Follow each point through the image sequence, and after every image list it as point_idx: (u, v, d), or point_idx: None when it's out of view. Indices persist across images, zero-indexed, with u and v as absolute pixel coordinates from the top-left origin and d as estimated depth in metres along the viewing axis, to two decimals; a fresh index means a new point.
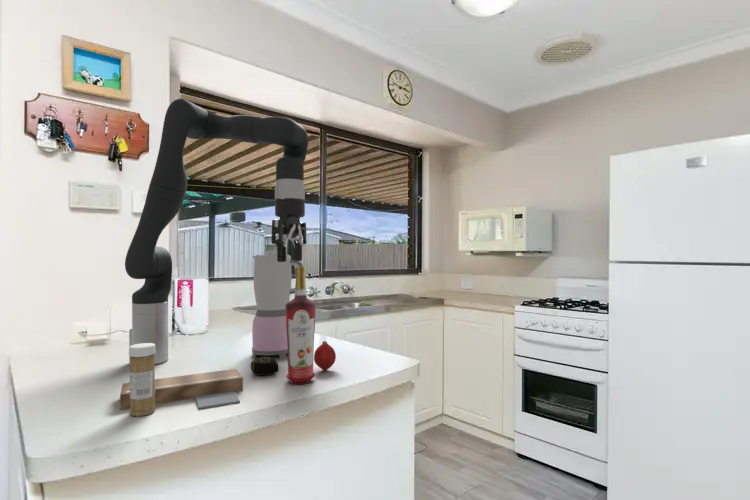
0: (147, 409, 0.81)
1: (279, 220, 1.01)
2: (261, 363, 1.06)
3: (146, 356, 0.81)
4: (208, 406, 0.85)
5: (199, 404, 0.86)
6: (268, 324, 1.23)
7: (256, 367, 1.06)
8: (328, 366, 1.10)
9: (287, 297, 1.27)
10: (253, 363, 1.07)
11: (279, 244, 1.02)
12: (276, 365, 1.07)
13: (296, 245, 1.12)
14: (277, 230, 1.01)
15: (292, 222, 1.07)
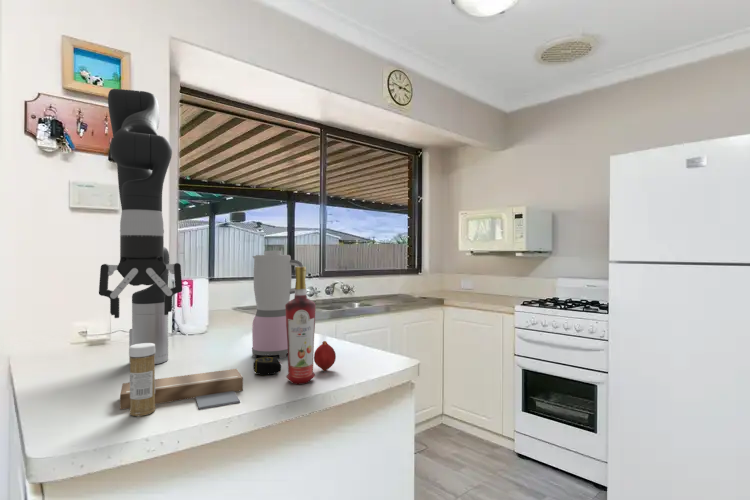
0: (147, 409, 0.81)
1: None
2: (264, 363, 1.06)
3: (146, 356, 0.81)
4: (208, 406, 0.85)
5: (199, 404, 0.86)
6: (268, 324, 1.23)
7: (258, 367, 1.06)
8: (328, 366, 1.10)
9: (287, 297, 1.27)
10: (256, 363, 1.07)
11: None
12: (279, 365, 1.07)
13: (117, 296, 0.81)
14: None
15: None
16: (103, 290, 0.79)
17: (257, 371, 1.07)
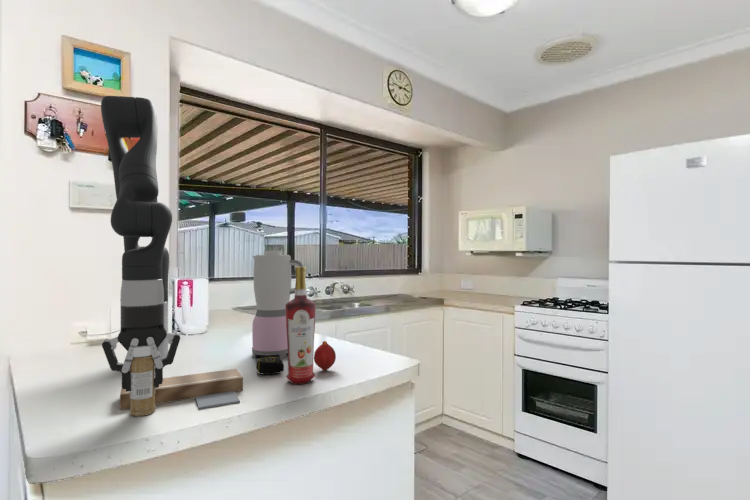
0: (147, 409, 0.81)
1: None
2: (267, 362, 1.07)
3: (146, 356, 0.81)
4: (208, 406, 0.85)
5: (199, 404, 0.86)
6: (268, 324, 1.23)
7: (261, 367, 1.07)
8: (328, 366, 1.10)
9: (287, 297, 1.27)
10: (259, 362, 1.07)
11: None
12: (281, 364, 1.08)
13: None
14: None
15: None
16: (115, 365, 0.79)
17: (260, 371, 1.07)
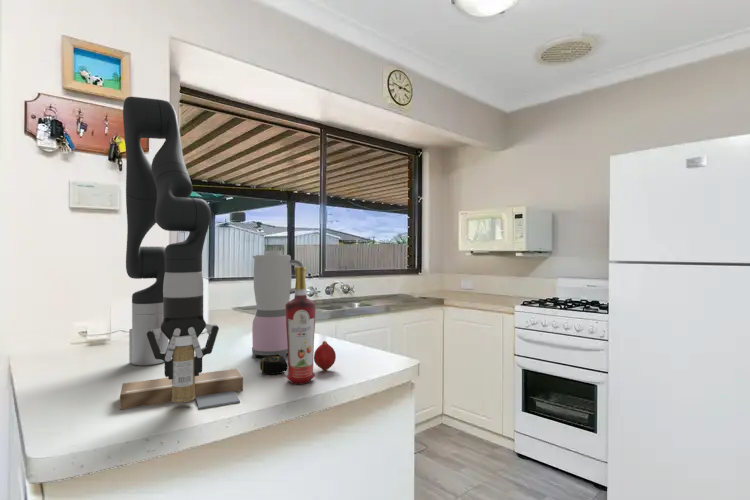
0: (188, 396, 0.85)
1: None
2: (270, 362, 1.07)
3: (187, 346, 0.85)
4: (208, 406, 0.85)
5: (199, 404, 0.86)
6: (268, 324, 1.23)
7: (265, 366, 1.07)
8: (328, 366, 1.10)
9: (287, 297, 1.27)
10: (262, 362, 1.08)
11: None
12: (285, 364, 1.08)
13: None
14: None
15: None
16: (158, 354, 0.83)
17: (264, 370, 1.07)
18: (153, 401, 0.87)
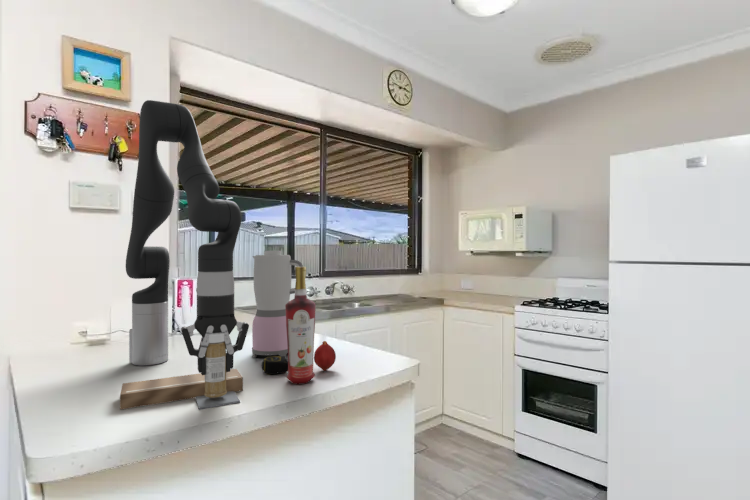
0: (221, 391, 0.88)
1: None
2: (272, 362, 1.07)
3: (220, 342, 0.88)
4: (208, 406, 0.85)
5: (199, 404, 0.86)
6: (268, 324, 1.23)
7: (267, 366, 1.07)
8: (328, 366, 1.10)
9: (287, 297, 1.27)
10: (264, 362, 1.08)
11: None
12: (287, 364, 1.08)
13: None
14: None
15: None
16: (192, 350, 0.86)
17: (266, 370, 1.07)
18: (153, 401, 0.87)
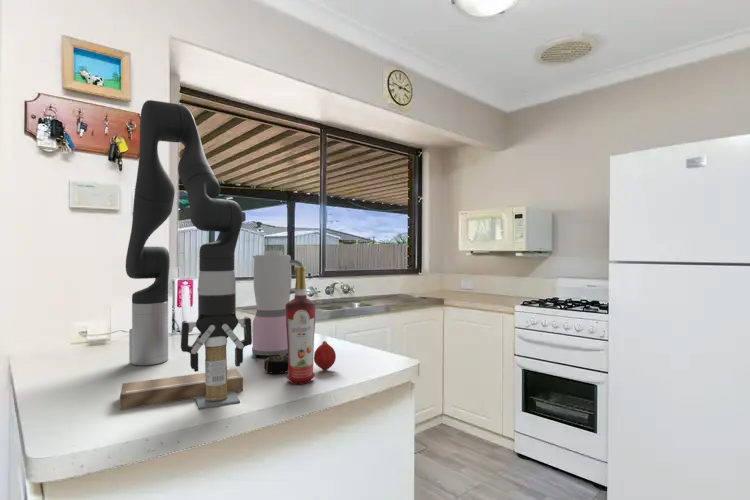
0: (222, 395, 0.88)
1: None
2: (275, 362, 1.07)
3: (220, 346, 0.88)
4: (208, 406, 0.85)
5: (199, 404, 0.86)
6: (268, 324, 1.23)
7: (269, 366, 1.07)
8: (328, 366, 1.10)
9: (287, 297, 1.27)
10: (267, 362, 1.08)
11: None
12: None
13: None
14: None
15: None
16: (185, 346, 0.85)
17: (268, 370, 1.08)
18: (153, 401, 0.87)
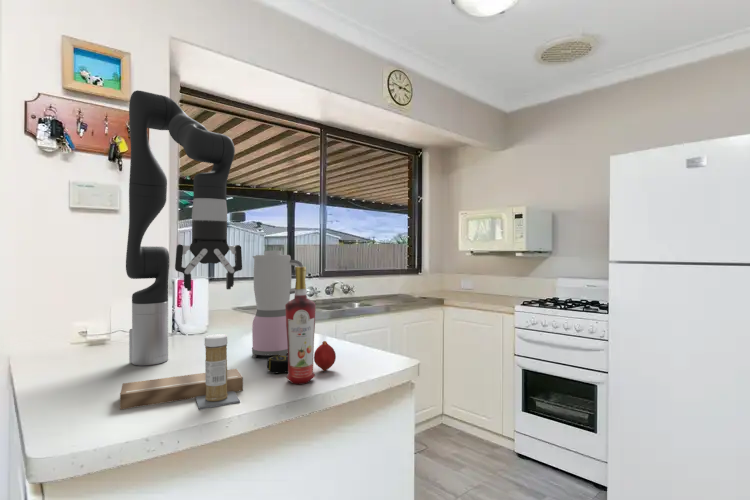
0: (222, 395, 0.88)
1: None
2: (277, 361, 1.08)
3: (220, 346, 0.88)
4: (208, 406, 0.85)
5: (199, 404, 0.86)
6: (268, 324, 1.23)
7: (272, 366, 1.08)
8: (328, 366, 1.10)
9: (287, 297, 1.27)
10: (270, 361, 1.09)
11: None
12: None
13: None
14: None
15: None
16: (179, 267, 0.92)
17: (271, 369, 1.08)
18: (153, 401, 0.87)
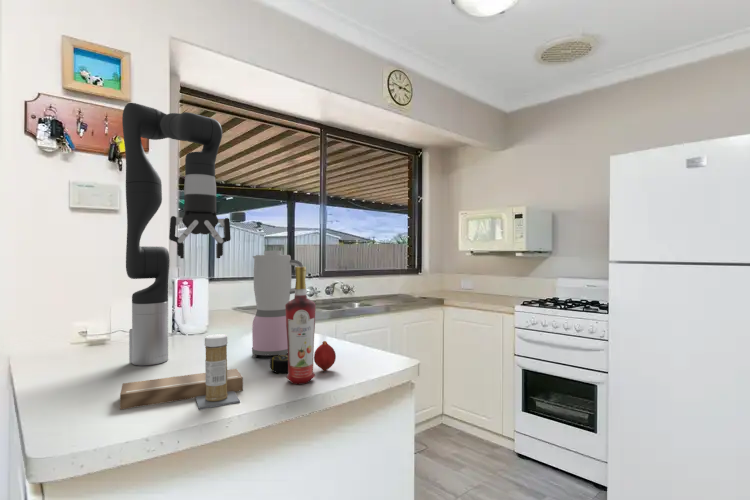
0: (222, 395, 0.88)
1: None
2: (280, 361, 1.08)
3: (220, 346, 0.88)
4: (208, 406, 0.85)
5: (199, 404, 0.86)
6: (268, 324, 1.23)
7: (275, 365, 1.08)
8: (328, 366, 1.10)
9: (287, 297, 1.27)
10: (272, 361, 1.09)
11: (225, 241, 1.09)
12: None
13: (182, 241, 1.04)
14: None
15: None
16: (172, 236, 1.02)
17: (274, 369, 1.08)
18: (153, 401, 0.87)
